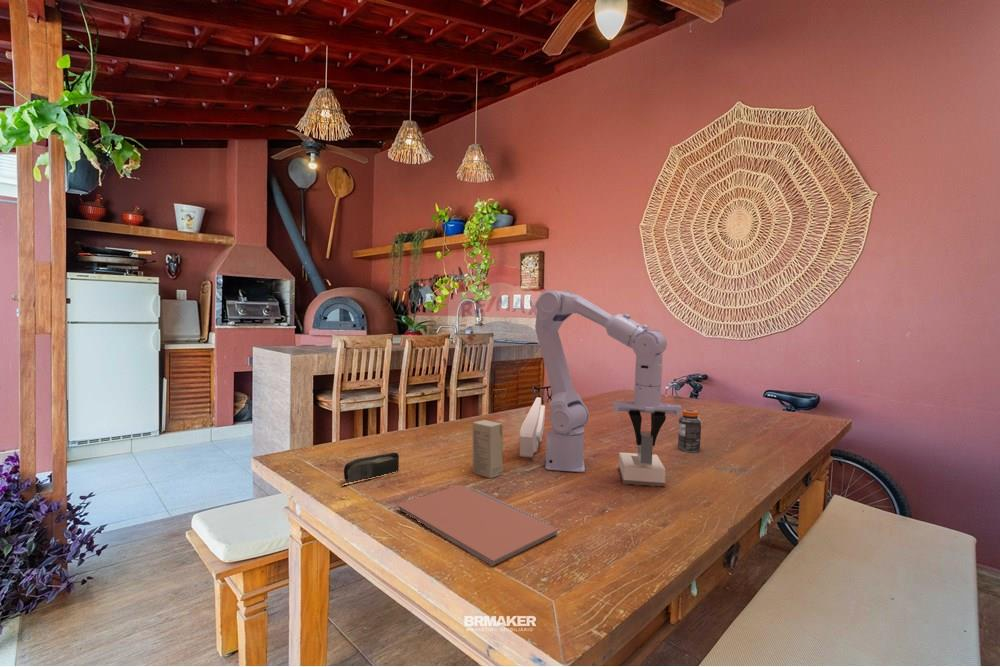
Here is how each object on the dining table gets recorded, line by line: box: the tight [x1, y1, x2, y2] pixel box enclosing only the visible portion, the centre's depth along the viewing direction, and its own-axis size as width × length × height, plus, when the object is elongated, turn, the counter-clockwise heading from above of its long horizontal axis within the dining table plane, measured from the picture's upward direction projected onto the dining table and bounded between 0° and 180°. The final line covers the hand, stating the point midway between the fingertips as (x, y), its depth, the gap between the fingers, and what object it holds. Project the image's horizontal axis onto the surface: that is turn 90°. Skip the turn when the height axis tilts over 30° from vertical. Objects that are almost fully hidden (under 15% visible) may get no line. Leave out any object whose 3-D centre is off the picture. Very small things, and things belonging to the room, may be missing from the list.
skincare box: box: [472, 419, 504, 479], centre depth 115 cm, size 6×4×12 cm
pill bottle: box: [677, 408, 702, 453], centre depth 138 cm, size 6×6×11 cm
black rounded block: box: [343, 452, 400, 484], centre depth 110 cm, size 5×3×15 cm
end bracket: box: [637, 430, 654, 464], centre depth 109 cm, size 2×5×6 cm, turn 171°
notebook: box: [396, 484, 560, 567], centre depth 90 cm, size 27×17×2 cm, turn 44°
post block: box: [618, 452, 667, 487], centre depth 115 cm, size 9×11×4 cm
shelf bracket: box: [519, 396, 546, 458], centre depth 137 cm, size 6×25×13 cm, turn 168°
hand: (645, 444), depth 109 cm, fingers closed on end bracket, 2 cm apart
